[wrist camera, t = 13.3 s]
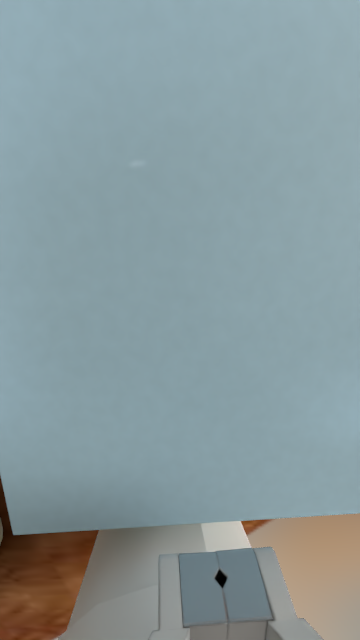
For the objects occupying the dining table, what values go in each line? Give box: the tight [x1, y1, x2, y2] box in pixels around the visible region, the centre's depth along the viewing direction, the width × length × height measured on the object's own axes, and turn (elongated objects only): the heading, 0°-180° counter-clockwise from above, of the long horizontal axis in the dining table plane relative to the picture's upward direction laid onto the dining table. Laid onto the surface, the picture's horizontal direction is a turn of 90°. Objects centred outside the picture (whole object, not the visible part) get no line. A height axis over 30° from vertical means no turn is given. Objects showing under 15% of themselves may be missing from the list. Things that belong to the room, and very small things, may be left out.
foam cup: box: [58, 521, 252, 640], centre depth 17 cm, size 10×9×13 cm
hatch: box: [0, 0, 360, 535], centre depth 11 cm, size 17×14×1 cm
